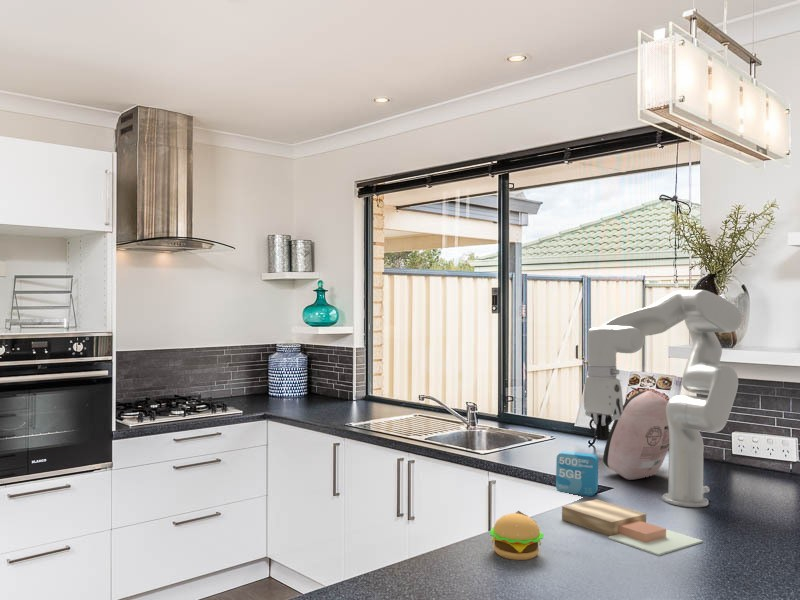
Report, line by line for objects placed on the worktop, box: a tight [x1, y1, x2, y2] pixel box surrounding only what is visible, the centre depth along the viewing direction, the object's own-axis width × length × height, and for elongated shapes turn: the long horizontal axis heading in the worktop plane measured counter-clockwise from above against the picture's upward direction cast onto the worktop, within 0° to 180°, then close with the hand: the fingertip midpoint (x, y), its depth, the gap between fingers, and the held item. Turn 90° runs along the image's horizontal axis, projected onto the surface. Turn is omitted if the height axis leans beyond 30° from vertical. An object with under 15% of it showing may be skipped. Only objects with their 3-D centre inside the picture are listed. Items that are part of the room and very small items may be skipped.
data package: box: [555, 450, 599, 497], centre depth 212 cm, size 12×4×12 cm, turn 65°
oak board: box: [561, 499, 647, 537], centre depth 181 cm, size 14×16×4 cm
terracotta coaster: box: [618, 520, 667, 542], centre depth 170 cm, size 8×8×2 cm
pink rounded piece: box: [602, 390, 669, 481], centre depth 233 cm, size 22×20×30 cm
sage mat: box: [607, 528, 704, 557], centre depth 168 cm, size 18×14×1 cm
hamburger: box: [489, 512, 544, 561], centre depth 157 cm, size 12×12×9 cm
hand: (602, 439), depth 188 cm, fingers closed
